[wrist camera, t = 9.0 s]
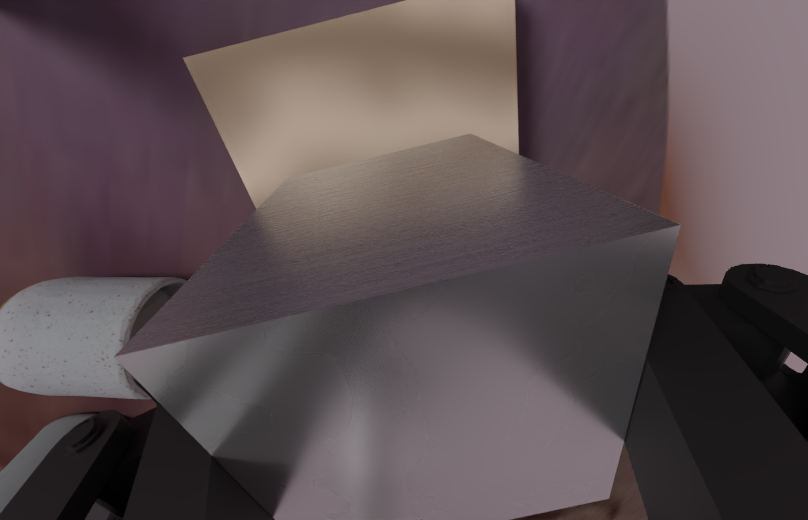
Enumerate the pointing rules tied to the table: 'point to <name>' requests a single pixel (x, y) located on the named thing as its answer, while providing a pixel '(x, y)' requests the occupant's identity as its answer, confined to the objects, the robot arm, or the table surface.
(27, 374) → the ceramic mug
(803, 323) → the robot arm
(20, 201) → the table surface
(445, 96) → the base
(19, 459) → the water bottle
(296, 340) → the mottled grey cube
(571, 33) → the table surface
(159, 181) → the table surface
